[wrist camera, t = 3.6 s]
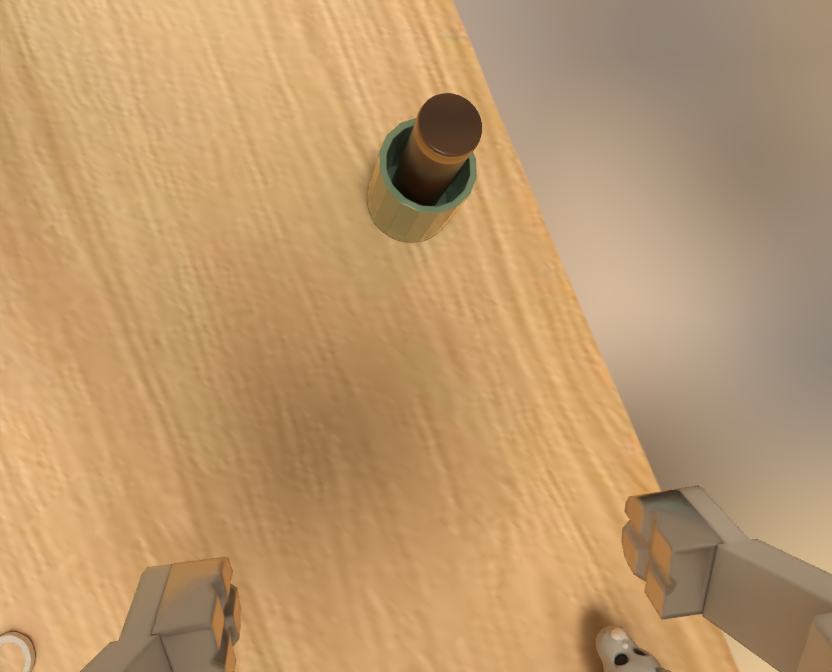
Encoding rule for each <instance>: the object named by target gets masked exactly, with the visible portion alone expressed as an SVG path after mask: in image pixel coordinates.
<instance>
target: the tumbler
mask: <svg viewBox="0 0 832 672" xmlns="http://www.w3.org/2000/svg"><path fill="white" fill-rule="evenodd" d="M415 121H416V118H415V119H412V120H409V121H406V122H403V123H400V124H399V125H398V126H397V127H396V128H395V129H393V130H392V131H391V132H390V133H389V134H388V135H387V136H386V139H385V141H384V143H383V145H382V148H381V150H380V152H379V156H378V159H377V162H376V165H375V168H374V171H373V174H372V177H371V180H370V183H369V186H368V193H367V205H368V210H369V213H370V215H371V217H372V219H373V221H374V223H375V224H376V225H377V226H378V228H379V229H380V230H381V231H382V232H384V233H385V234H386V235H388V236H389V237H391V238H393V239H396V240H398V241H402V242H409V243H413V242H421V241H424V240H427V239H429V238H431V237H433V236H434V235H436V234H437V233H438V232H439V231H440V230H441V229H442V228H443V227H444V226H445V225H446V224H447V222H448V221H449V220H450V219H451V217H452V216H453V215H454V214H455V212H456V211H457V210H458V209H459V207H460V206H461V205H462V204H463V202H464V201H465V200H466V199H467V197H468V196H469V195H470V193H471V190H472V188H473V185H474V183H475V180H476V158H475V156H474V153H473V152H472V154H471V155H470V156H469V157H468V158H467V160H466V161H465V163H464V164H463V166H462V167H461V169H460V170H459V172H458V173H457V175H456V176H455V178H454V179H453V181H452V182H451V184H450V185H449V187H448V188H447V190H446V191H445V192H444V194H443V195H442V197H441V198H440V200H439V201H438V203H437V204H436V206H421V205H419V204H417V203H414V202H412V201H410V200H408V199H406V198H405V197H404V196H403V195H402V194H401V193H400V192H399V191H398V190H397V189H396V188H395V187H394V186H393V184H392V182H391V180H392V178H393V176H394V173H395V171H396V168H397V166H398V163H399V161H400V159H401V156H402V154H403V151H404V149H405V147H406V144H407V142H408V139H409V137H410V134H411V132H412V130H413V127H414V124H415Z"/></svg>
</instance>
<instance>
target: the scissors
mask: <svg viewBox="0 0 832 672" xmlns="http://www.w3.org/2000/svg"><path fill="white" fill-rule="evenodd" d="M6 643H14V644H17V645H18V646H19V647H20V648H21V649H22V651H23V654H24V658H25V663H26V664H25V666H24V669H23V671H22V672H31V670H32V668H33V666H34V661H35V652H34V648H33V644H32V643H31V641H30V640H29V638H27V637H26V636H24V635H22V634H20V633H17V632H8V633H6V634H4V635H2V636H0V645H3V644H6Z"/></svg>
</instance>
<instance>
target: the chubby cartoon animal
mask: <svg viewBox="0 0 832 672" xmlns="http://www.w3.org/2000/svg"><path fill="white" fill-rule="evenodd" d="M596 649H597V652H598V654H599V656H600V658H601V660H602V662H603V668H604V672H671V671H669V670H666V669H663V668H662V667H661V666H660V664H659V662H658V661H657V659H656V658H655V657H654V656H653V655H652V654H650V653H649V652H647V651H645V650H643V649H641V648H640V647H638V646H637V645H636V644H635V643H634V641H633V640H632V638H631V636H630V635H629V634H628V633H627V632H626V631H625V630H624V629H623V627H616V626H607V627H605V628H603V629H602V630H601V631H600V632H599V633H598V635H597V638H596Z"/></svg>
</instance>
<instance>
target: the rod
mask: <svg viewBox="0 0 832 672" xmlns="http://www.w3.org/2000/svg"><path fill="white" fill-rule="evenodd" d="M481 134H482V122H481V118H480V115H479V113H478V111H477V110H476V108H475V107H474V106H473V105H472V104H471V103H470V102H469V101H468V100H467V99H465V98H463V97H461V96H459V95H456V94H451V93H444V94H439V95H436V96H433V97H432V98H430V99H429V100H427V101H426V103H425V104H424V105H423V106H422V107H421V109H420V111H419V113H418V115H417V118H416V121H415V124H414V127H413V130H412V132H411V134H410V137H409V139H408V142H407V144H406V147H405V149H404V151H403V154H402V156H401V159H400V161H399V163H398V166H397V168H396V171H395V173H394V176H393V178H392V180H391V182H392V184H393V186H394V187H395V188H396V189H397V190H398V191H399V192H400V193H401V194H402V195H403V196H404V197H405V198H406V199H408V200H410V201H412V202H414V203H417V204H419V205H421V206H436V204H437V203H438V201H439V200H440V198H441V197H442V195H443V194H444V192H445V191H446V190H447V188H448V187H449V185H450V184H451V182H452V181H453V179H454V178H455V176H456V175H457V173H458V172H459V170H460V169H461V167H462V166H463V164H464V163H465V161H466V160H467V158H468V157H469V156H470V155H471V154H472V152H473V151H474V149H475V148H476V147H477V145H478V143H479V141H480V138H481Z"/></svg>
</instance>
